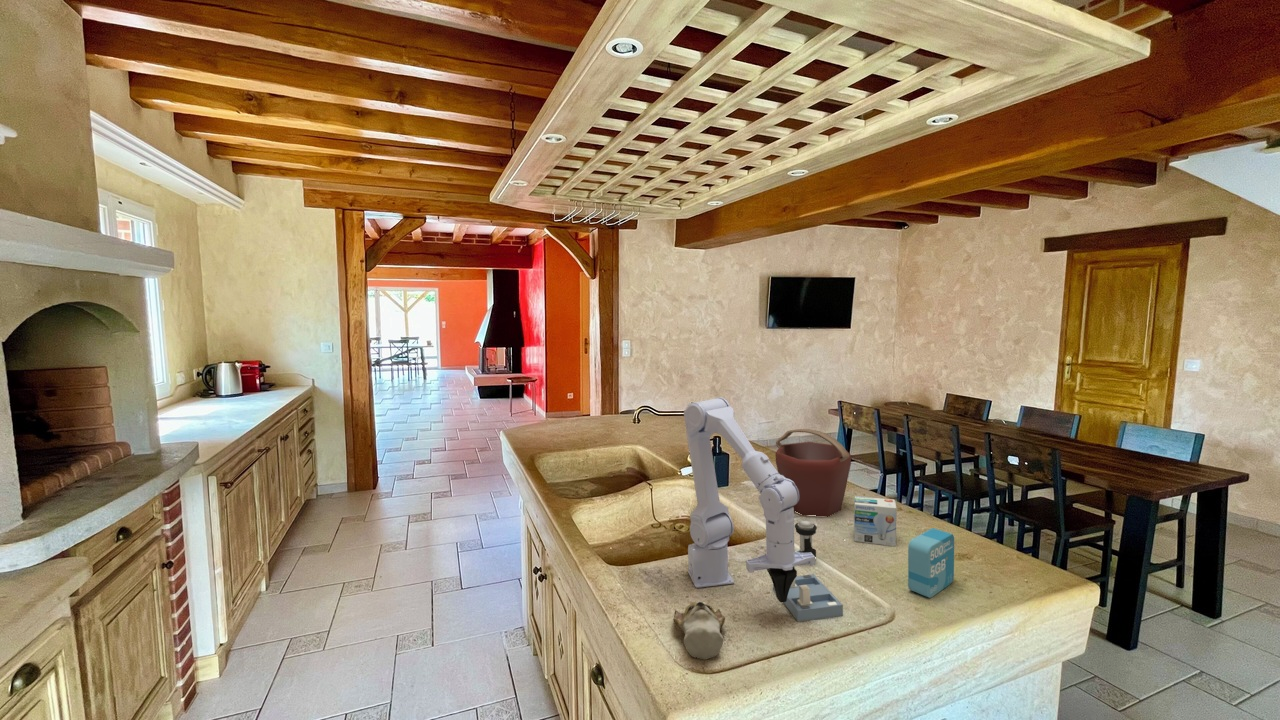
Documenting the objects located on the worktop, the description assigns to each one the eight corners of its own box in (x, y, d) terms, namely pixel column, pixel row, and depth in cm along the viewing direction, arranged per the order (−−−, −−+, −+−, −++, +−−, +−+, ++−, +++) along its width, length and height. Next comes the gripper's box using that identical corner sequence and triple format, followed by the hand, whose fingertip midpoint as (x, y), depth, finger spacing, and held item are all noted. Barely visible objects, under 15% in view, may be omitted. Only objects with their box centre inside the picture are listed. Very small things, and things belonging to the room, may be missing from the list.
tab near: (801, 610, 110) (800, 590, 109) (797, 605, 112) (796, 585, 111) (812, 608, 110) (812, 589, 110) (808, 603, 112) (808, 584, 112)
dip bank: (797, 621, 108) (797, 610, 107) (773, 588, 120) (773, 578, 120) (842, 615, 109) (842, 604, 109) (813, 583, 122) (813, 573, 122)
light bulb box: (854, 541, 142) (853, 503, 141) (853, 531, 148) (853, 495, 147) (897, 547, 138) (897, 507, 137) (895, 536, 144) (895, 499, 143)
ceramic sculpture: (675, 622, 95) (671, 584, 110) (676, 668, 95) (672, 624, 110) (733, 620, 95) (721, 582, 110) (734, 667, 95) (722, 622, 110)
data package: (928, 600, 113) (928, 547, 112) (907, 591, 117) (907, 540, 116) (954, 582, 120) (954, 532, 119) (934, 574, 124) (934, 526, 122)
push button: (803, 568, 129) (803, 530, 128) (787, 560, 134) (786, 523, 133) (821, 560, 132) (821, 523, 131) (805, 553, 137) (804, 516, 136)
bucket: (762, 501, 175) (760, 428, 172) (812, 489, 184) (811, 419, 181) (814, 527, 153) (813, 444, 150) (868, 512, 162) (868, 433, 159)
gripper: (753, 550, 104) (755, 614, 105) (821, 542, 106) (822, 605, 107) (742, 535, 111) (743, 595, 112) (806, 528, 113) (807, 588, 114)
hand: (781, 599), depth 110 cm, fingers closed
